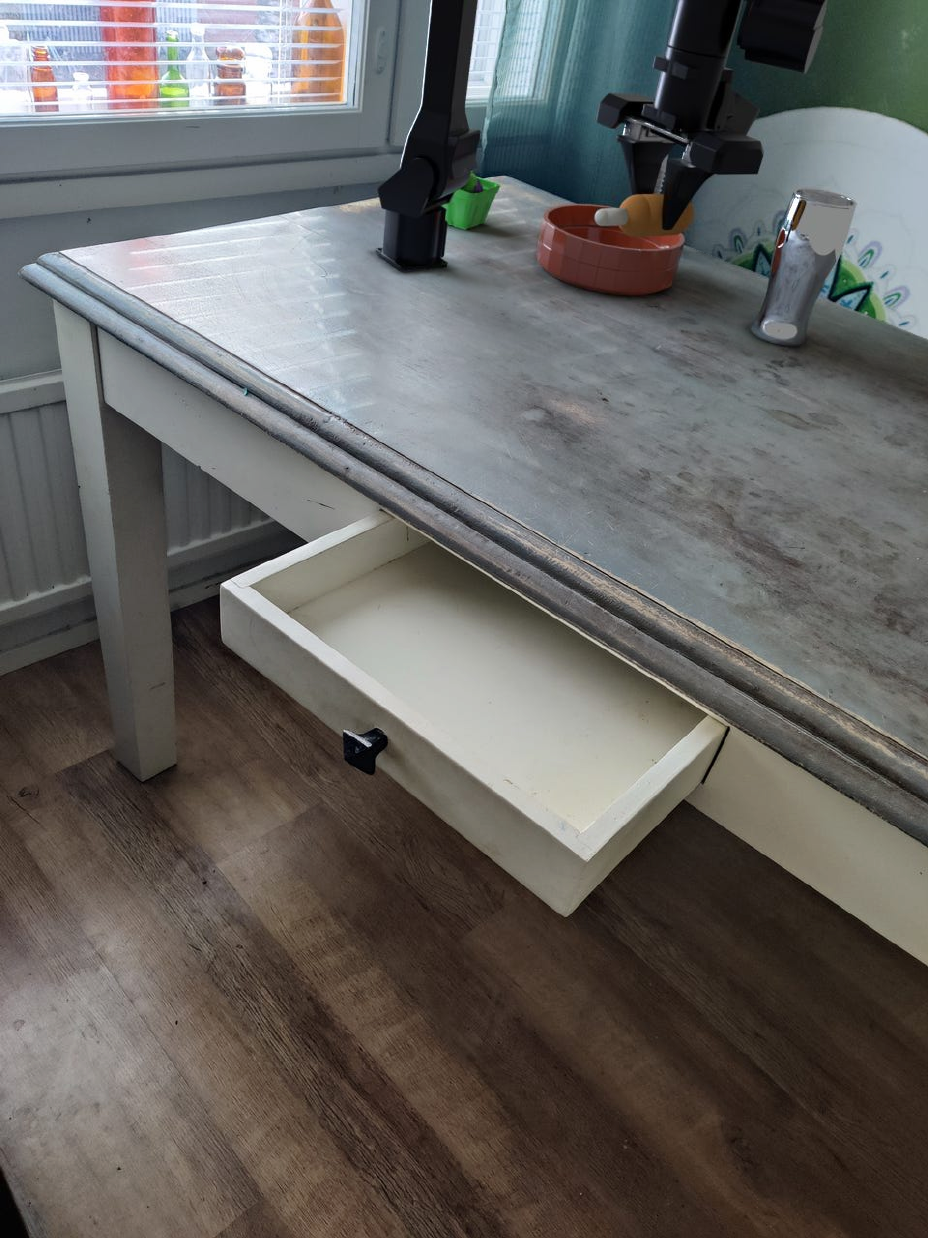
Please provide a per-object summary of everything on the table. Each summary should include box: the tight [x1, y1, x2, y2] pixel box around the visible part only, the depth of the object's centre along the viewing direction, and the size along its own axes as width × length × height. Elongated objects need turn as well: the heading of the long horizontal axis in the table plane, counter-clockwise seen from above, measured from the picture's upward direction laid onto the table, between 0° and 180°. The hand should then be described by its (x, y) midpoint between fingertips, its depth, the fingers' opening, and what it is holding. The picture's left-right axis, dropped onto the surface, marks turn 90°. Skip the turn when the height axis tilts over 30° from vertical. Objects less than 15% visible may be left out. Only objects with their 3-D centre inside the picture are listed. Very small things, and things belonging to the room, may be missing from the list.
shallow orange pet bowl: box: [535, 203, 686, 296], centre depth 116 cm, size 17×17×6 cm
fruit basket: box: [442, 171, 501, 231], centre depth 123 cm, size 11×9×11 cm
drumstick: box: [595, 193, 695, 237], centre depth 97 cm, size 12×4×4 cm, turn 121°
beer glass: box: [750, 187, 858, 347], centre depth 104 cm, size 7×7×15 cm
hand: (653, 222), depth 98 cm, fingers closed on drumstick, 4 cm apart
